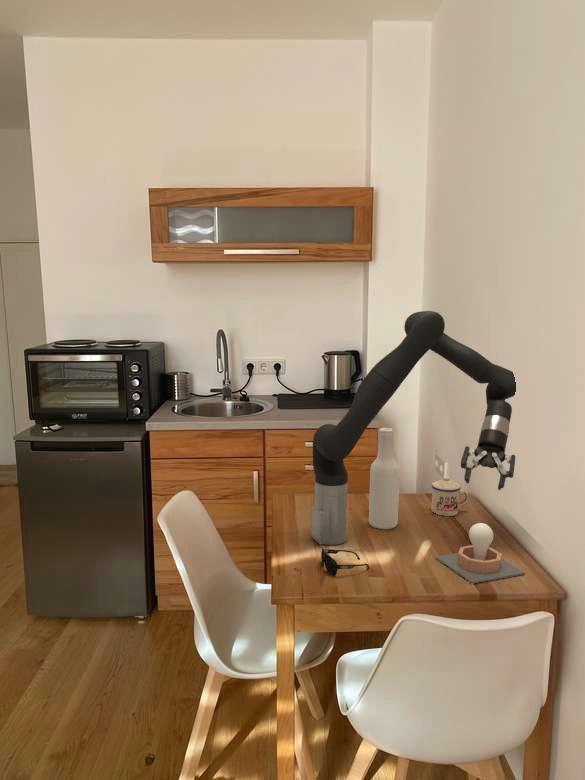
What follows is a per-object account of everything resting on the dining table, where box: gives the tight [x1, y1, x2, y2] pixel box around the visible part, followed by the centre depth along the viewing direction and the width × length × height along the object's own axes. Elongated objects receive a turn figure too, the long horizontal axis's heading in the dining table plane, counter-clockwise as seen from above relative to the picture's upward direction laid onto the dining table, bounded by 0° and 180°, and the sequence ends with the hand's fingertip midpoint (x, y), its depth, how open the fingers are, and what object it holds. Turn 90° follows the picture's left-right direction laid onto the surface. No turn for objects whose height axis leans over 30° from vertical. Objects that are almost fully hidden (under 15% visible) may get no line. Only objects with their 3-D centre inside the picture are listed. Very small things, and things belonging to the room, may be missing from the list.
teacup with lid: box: [430, 476, 469, 517], centre depth 207 cm, size 12×9×12 cm
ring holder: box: [435, 544, 526, 584], centre depth 166 cm, size 16×16×4 cm
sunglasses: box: [320, 547, 370, 576], centre depth 166 cm, size 10×12×5 cm
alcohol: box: [368, 427, 400, 530], centre depth 193 cm, size 9×9×30 cm
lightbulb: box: [468, 522, 494, 561], centre depth 166 cm, size 6×6×11 cm
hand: (483, 485), depth 175 cm, fingers open, 8 cm apart
